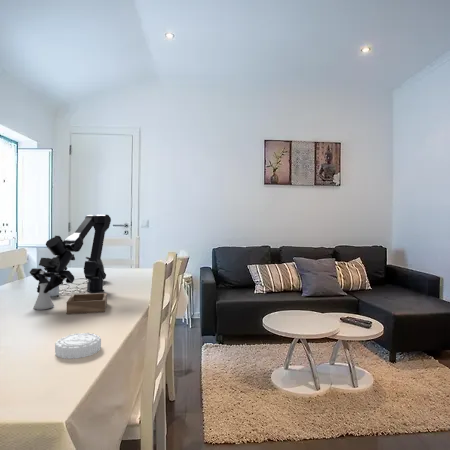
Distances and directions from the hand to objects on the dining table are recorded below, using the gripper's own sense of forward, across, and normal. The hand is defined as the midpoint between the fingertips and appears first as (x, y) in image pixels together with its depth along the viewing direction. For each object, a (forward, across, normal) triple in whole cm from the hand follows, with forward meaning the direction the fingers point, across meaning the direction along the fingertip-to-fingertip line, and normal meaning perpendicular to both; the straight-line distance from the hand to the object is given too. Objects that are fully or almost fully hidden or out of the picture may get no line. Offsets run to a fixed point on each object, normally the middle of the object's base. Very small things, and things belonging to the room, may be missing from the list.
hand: (41, 292), depth 139 cm
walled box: (0, +17, +9) cm, 20 cm away
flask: (+4, 0, +6) cm, 7 cm away
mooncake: (+28, +43, -17) cm, 54 cm away
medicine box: (-10, -15, +19) cm, 26 cm away
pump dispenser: (-36, -16, +46) cm, 61 cm away
